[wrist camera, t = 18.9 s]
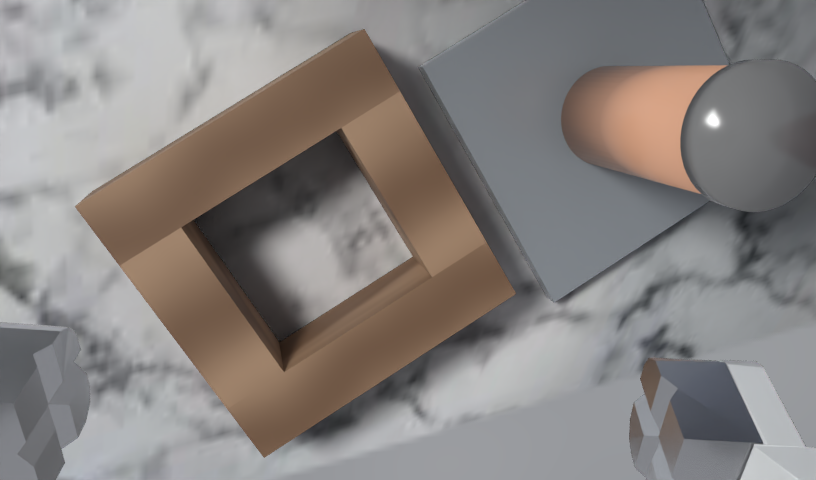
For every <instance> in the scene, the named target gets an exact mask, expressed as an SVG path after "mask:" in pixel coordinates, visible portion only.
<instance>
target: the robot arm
mask: <svg viewBox="0 0 816 480" xmlns="http://www.w3.org/2000/svg"><path fill="white" fill-rule="evenodd" d="M80 351H81V347H80V344H79V341H78V337H77V334H76V331H74V330H72V329H71V328H69V327H58V326H45V325H32V324H18V323H5V322H0V480H56V478H57V476H58V475H59V473H60V471H61V469H62V467H63V465H64V463H65V461H64V457H63V454H62V450H61V449H62V448H64V447H65V446H67V445H68V444H70V443H71V442H73V441H74V440H76V439H77V438H78V437H79V435H80V433H81V431H82V429H83V427H84V425H85V423H86V419H87V414H88V410H89V405H90V385H89V380H88V376H87V373H86V372H85V371H84V370H83V369H82V368H81V367H79V366H78V365H77V364H76V363H75V362H74V361H75V359H76V357H77V356H78V354H79V352H80ZM640 380H641V383H642V386H643V389H644V392H645V394H644V395H642V396H641V397H640V398H639V399H637V400H636V401H635V402H634V404H633V409H632V413H631V418H630V433H629V440H630V448H631V454H632V458H633V462H634V466H635V468H636V469H637V470H638V471H639V472H640V473H641V474H643V475H644V476H645V477H646V480H816V448H813V447H806V445H805V444H804V442H803V440H802V438H801V436H800V434H799V432H798V431H797V429H796V427H795V425H794V423H793V421H792V419H791V418H790V416H789V414H788V412H787V410H786V408H785V406H784V405H783V403H782V401H781V399H780V397H779V395H778V394H777V392H776V390H775V388H774V386H773V384H772V382H771V381H770V379H769V377H768V375H767V373H766V371H765V370H764V368H763V366H762V365H761V364H759V363H758V362H757V361H734V360H720V361H712V360H690V359H668V358H648V360H647V361H646V363H645V365H644V367H643V371H642V374H641V378H640Z"/></svg>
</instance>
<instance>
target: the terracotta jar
mask: <svg viewBox="0 0 816 480" xmlns="http://www.w3.org/2000/svg"><path fill="white" fill-rule="evenodd" d="M561 126H562V132H563V135H564V138H565V141H566V143H567V145H568V146H569V148H570V149H571V150H572V152H573V153H574V154H575V155H576V156H577V157H579V158H580V159H581V160H583V161H585V162H587V163H589V164H592V165H596V166H599V167H603V168H607V169H610V170H614V171H618V172H622V173H625V174H629V175H633V176H636V177H640V178H644V179H647V180H651V181H655V182H658V183H662V184H666V185H670V186H673V187H677V188H681V189H684V190H688V191H692V192H695V193H699V194H702V195H703V196H705V197H706V198H707V199H709V200H711V201H713V202H715V203H717V204H720V205H723V206H726V207H730V208H733V209H737V210H740V211H746V212H763V211H768V210H772V209H775V208H778V207H780V206H782V205H784V204H786V203H788V202H789V201H791V200H792V199H794V198H795V197H796V196H798V195H799V194H800V193H801V192H802V191H803V190H804V189H805V188H806V187H807V186H808V185H809V184H810V182H811V181H812V180H813V178H814V177H815V175H816V80H815V79H814V78H813V77H812V76H811V75H810V74H809V73H808V72H807V71H805V70H804V69H802V68H801V67H799V66H798V65H795V64H793V63H790V62H787V61H783V60H774V59H762V60H744V61H740V62H736V63H733V64H730V65H676V66H602V67H598V68H595V69H593V70H591V71H589V72H587V73H585V74H584V75H583V76H581V77H580V78H579V79H578V80H577V81H576V82H575V83H574V84H573V86H572V87H571V89H570V90H569V92H568V94H567V96H566V98H565V101H564V104H563V108H562V114H561Z"/></svg>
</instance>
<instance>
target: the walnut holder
mask: <svg viewBox="0 0 816 480" xmlns="http://www.w3.org/2000/svg"><path fill="white" fill-rule="evenodd" d="M335 131H337V133H338V135H339V136H340V138H341V140H342V141H343V143H344V144H345V146H346V148H347V149H348V151H349V153H350V154H351V156H352V158H353V159H354V161H355V162H356V164H357V166H358V167H359V169H360V171H361V172H362V174H363V175H364V177H365V179H366V180H367V182H368V184H369V185H370V187H371V189H372V190H373V192H374V193H375V195H376V197H377V198H378V200H379V202H380V203H381V205H382V207H383V208H384V210H385V211H386V213H387V215H388V216H389V218H390V220H391V221H392V223H393V225H394V226H395V228H396V229H397V231H398V233H399V234H400V236H401V238H402V239H403V241H404V243H405V244H406V246H407V247H408V249H409V251H410V252H411V254H412V256H413V257H412V258H410V259H409V260H407V261H406V262H404V263H403V264H401V265H399V266H398V267H396V268H395V269H393V270H392V271H390V272H389V273H387V274H385V275H384V276H382V277H381V278H379V279H378V280H376V281H374V282H373V283H371V284H370V285H368V286H367V287H365V288H364V289H362V290H360V291H359V292H357V293H356V294H354V295H353V296H351V297H349V298H348V299H346V300H345V301H343V302H342V303H340V304H339V305H337V306H335V307H334V308H332V309H331V310H329V311H328V312H326V313H324V314H323V315H321V316H320V317H318V318H317V319H315V320H314V321H312V322H310V323H309V324H307V325H306V326H304V327H303V328H301V329H299V330H298V331H296V332H295V333H293V334H292V335H290V336H288V337H287V338H285V339H284V340H282V341H281V342H279V341H278V340H277V338H276V337H275V335H274V334H273V333H272V331H271V330H270V328H269V327H268V326H267V324H266V323H265V321H264V320H263V318H262V317H261V316H260V314H259V313H258V311H257V310H256V308H255V307H254V306H253V304H252V303H251V301H250V300H249V299H248V297H247V296H246V294H245V293H244V291H243V290H242V289H241V287H240V286H239V284H238V283H237V281H236V280H235V279H234V277H233V276H232V274H231V273H230V271H229V270H228V269H227V267H226V266H225V264H224V263H223V262H222V260H221V259H220V257H219V256H218V254H217V253H216V252H215V250H214V249H213V247H212V246H211V244H210V243H209V242H208V240H207V239H206V237H205V236H204V234H203V233H202V232H201V230H200V229H199V227H198V226H197V225H196V223H195V222H194V219H195V218H197V217H199V216H200V215H202V214H204V213H205V212H207V211H208V210H210V209H212V208H213V207H215V206H216V205H218V204H220V203H221V202H223V201H224V200H226V199H228V198H229V197H231V196H232V195H234V194H236V193H237V192H239V191H240V190H242V189H244V188H245V187H247V186H249V185H250V184H252V183H253V182H255V181H257V180H258V179H260V178H261V177H263V176H265V175H266V174H268V173H269V172H271V171H273V170H274V169H276V168H277V167H279V166H281V165H282V164H284V163H286V162H287V161H289V160H290V159H292V158H294V157H295V156H297V155H298V154H300V153H302V152H303V151H305V150H306V149H308V148H310V147H311V146H313V145H314V144H316V143H318V142H319V141H321V140H322V139H324V138H326V137H327V136H329V135H331V134H332V133H334V132H335ZM75 207H76V209H77V210H78V211H79V213H80V214H81V215H82V217H83V218H84V219H85V221H86V222H87V223H88V225H89V226H90V227H91V229H92V230H93V231H94V233H95V234H96V235H97V237H98V238H99V239H100V241H101V242H102V243H103V245H104V246H105V247H106V249H107V250H108V251H109V253H110V254H111V255H112V257H113V258H114V259H115V260H116V262H117V263H118V264H119V266H120V267H121V268H122V270H123V271H124V272H125V274H126V275H127V276H128V278H129V279H130V280H131V282H132V283H133V284H134V286H135V287H136V288H137V290H138V291H139V292H140V294H141V295H142V296H143V298H144V299H145V300H146V302H147V303H148V304H149V306H150V307H151V308H152V310H153V311H154V312H155V314H156V315H157V316H158V318H159V319H160V320H161V322H162V323H163V324H164V326H165V327H166V328H167V330H168V331H169V332H170V334H171V335H172V336H173V338H174V339H175V340H176V341H177V343H178V344H179V345H180V347H181V348H182V349H183V351H184V352H185V353H186V355H187V356H188V357H189V359H190V360H191V361H192V363H193V364H194V365H195V367H196V368H197V369H198V371H199V372H200V373H201V375H202V376H203V377H204V379H205V380H206V381H207V383H208V384H209V385H210V387H211V388H212V389H213V391H214V392H215V393H216V395H217V396H218V397H219V399H220V400H221V401H222V403H223V404H224V405H225V407H226V408H227V409H228V411H229V412H230V413H231V415H232V416H233V417H234V419H235V420H236V421H237V423H238V424H239V425H240V426H241V428H242V429H243V430H244V432H245V433H246V434H247V436H248V437H249V438H250V440H251V441H252V442H253V444H254V445H255V446H256V448H257V449H258V450H259V452H260V453H261V454H262V456H263V457H266V456H268V455H269V454H271V453H272V452H274V451H275V450H277V449H278V448H280V447H281V446H283V445H284V444H286V443H288V442H289V441H291V440H292V439H294V438H295V437H297V436H298V435H300V434H301V433H303V432H304V431H306V430H307V429H309V428H311V427H312V426H314V425H315V424H317V423H318V422H320V421H321V420H323V419H324V418H326V417H327V416H329V415H331V414H332V413H334V412H335V411H337V410H338V409H340V408H341V407H343V406H344V405H346V404H347V403H349V402H351V401H352V400H354V399H355V398H357V397H358V396H360V395H361V394H363V393H364V392H366V391H367V390H369V389H371V388H372V387H374V386H375V385H377V384H378V383H380V382H381V381H383V380H384V379H386V378H387V377H389V376H391V375H392V374H394V373H395V372H397V371H398V370H400V369H401V368H403V367H404V366H406V365H407V364H409V363H411V362H412V361H414V360H415V359H417V358H418V357H420V356H421V355H423V354H424V353H426V352H427V351H429V350H431V349H432V348H434V347H435V346H437V345H438V344H440V343H441V342H443V341H444V340H446V339H447V338H449V337H451V336H452V335H454V334H455V333H457V332H458V331H460V330H461V329H463V328H464V327H466V326H467V325H469V324H471V323H472V322H474V321H475V320H477V319H478V318H480V317H481V316H483V315H484V314H486V313H487V312H489V311H490V310H492V309H494V308H495V307H497V306H498V305H500V304H501V303H503V302H504V301H506V300H507V299H509V298H510V297H512V296H514V295H515V294H516V293H515V291H514V289H513V287H512V286H511V284H510V282H509V280H508V279H507V277H506V275H505V273H504V272H503V270H502V268H501V266H500V265H499V263H498V261H497V259H496V258H495V256H494V254H493V252H492V251H491V249H490V247H489V246H488V244H487V242H486V240H485V239H484V237H483V235H482V233H481V232H480V230H479V228H478V226H477V225H476V223H475V221H474V219H473V218H472V216H471V214H470V212H469V211H468V209H467V207H466V205H465V204H464V202H463V200H462V198H461V197H460V195H459V193H458V191H457V190H456V188H455V186H454V184H453V183H452V181H451V179H450V177H449V176H448V174H447V172H446V170H445V169H444V167H443V165H442V164H441V162H440V160H439V158H438V157H437V155H436V153H435V151H434V150H433V148H432V146H431V144H430V143H429V141H428V139H427V137H426V136H425V134H424V132H423V130H422V129H421V127H420V125H419V123H418V122H417V120H416V118H415V116H414V115H413V113H412V111H411V109H410V108H409V106H408V104H407V102H406V101H405V99H404V97H403V95H402V94H401V92H400V90H399V88H398V87H397V85H396V83H395V81H394V80H393V78H392V76H391V75H390V73H389V71H388V69H387V68H386V66H385V64H384V62H383V61H382V59H381V57H380V55H379V54H378V52H377V50H376V48H375V47H374V45H373V43H372V41H371V40H370V38H369V36H368V34H367V33H366V31H365V29H363V30H359V31H356V32H352V33H350V34H348V35H347V36H345V37H343V38H342V39H340V40H339V41H337V42H335V43H334V44H332V45H330V46H329V47H327V48H325V49H324V50H322V51H321V52H319V53H317V54H316V55H314V56H312V57H311V58H309V59H308V60H306V61H304V62H303V63H301V64H299V65H298V66H296V67H294V68H293V69H291V70H290V71H288V72H286V73H285V74H283V75H281V76H280V77H278V78H277V79H275V80H273V81H272V82H270V83H268V84H267V85H265V86H264V87H262V88H260V89H259V90H257V91H255V92H254V93H252V94H250V95H249V96H247V97H246V98H244V99H242V100H241V101H239V102H237V103H236V104H234V105H233V106H231V107H229V108H228V109H226V110H224V111H223V112H221V113H219V114H218V115H216V116H215V117H213V118H211V119H210V120H208V121H206V122H205V123H203V124H202V125H200V126H198V127H197V128H195V129H193V130H192V131H190V132H188V133H187V134H185V135H184V136H182V137H180V138H179V139H177V140H175V141H174V142H172V143H171V144H169V145H167V146H166V147H164V148H162V149H161V150H159V151H157V152H156V153H154V154H153V155H151V156H149V157H148V158H146V159H144V160H143V161H141V162H140V163H138V164H136V165H135V166H133V167H131V168H130V169H128V170H126V171H125V172H123V173H122V174H120V175H118V176H117V177H115V178H113V179H112V180H110V181H109V182H107V183H105V184H104V185H102V186H100V187H99V188H97V189H95V190H94V191H92V192H91V193H90V194H89V195H88V196H86V197H85V198H84V199H83V200H82V201H81V202H80V203H78V204H77V205H76V206H75Z"/></svg>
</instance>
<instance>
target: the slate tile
mask: <svg viewBox="0 0 816 480" xmlns="http://www.w3.org/2000/svg"><path fill="white" fill-rule="evenodd" d="M676 65H730V64H729V62H728V59H727V57H726V55H725V52H724V50H723V48H722V45H721V43H720V41H719V38H718V36H717V34H716V31H715V29H714V26H713V24H712V22H711V19H710V17H709V15H708V12H707V10H706V8H705V5H704V3H703V1H702V0H525V1H524V2H522V3H521V4H519V5H517V6H516V7H514V8H512V9H511V10H509V11H508V12H506V13H504V14H503V15H501V16H500V17H498V18H496V19H495V20H493V21H492V22H490V23H488V24H487V25H485V26H483V27H482V28H480V29H479V30H477V31H475V32H474V33H472V34H471V35H469V36H467V37H466V38H464V39H463V40H461V41H459V42H458V43H456V44H454V45H453V46H451V47H450V48H448V49H446V50H445V51H443V52H442V53H440V54H438V55H437V56H435V57H434V58H432V59H430V60H429V61H427V62H425V63H424V64H422V65H421V66H419V67H418V68H419V69H420V71H421V73H422V75H423V76H424V78H425V80H426V82H427V84H428V85H429V87H430V89H431V91H432V93H433V94H434V96H435V98H436V100H437V102H438V103H439V105H440V107H441V109H442V110H443V112H444V114H445V116H446V118H447V119H448V121H449V123H450V125H451V127H452V128H453V130H454V132H455V134H456V135H457V137H458V139H459V141H460V143H461V144H462V146H463V148H464V150H465V152H466V153H467V155H468V157H469V159H470V161H471V162H472V164H473V166H474V168H475V169H476V171H477V173H478V175H479V177H480V178H481V180H482V182H483V184H484V186H485V187H486V189H487V191H488V193H489V194H490V196H491V198H492V200H493V202H494V203H495V205H496V207H497V209H498V211H499V212H500V214H501V216H502V218H503V220H504V221H505V223H506V225H507V227H508V228H509V230H510V232H511V234H512V236H513V237H514V239H515V241H516V243H517V245H518V246H519V248H520V250H521V252H522V253H523V255H524V257H525V259H526V261H527V262H528V264H529V266H530V268H531V270H532V271H533V273H534V275H535V277H536V279H537V280H538V282H539V284H540V286H541V287H542V289H543V291H544V293H545V295H546V296H547V298H549V299H550V300H551V301H553V302H556V301H557V300H559V299H561V298H562V297H564V296H565V295H567V294H568V293H570V292H571V291H573V290H574V289H576V288H577V287H579V286H580V285H582V284H583V283H585V282H587V281H588V280H590V279H591V278H593V277H594V276H596V275H597V274H599V273H600V272H602V271H603V270H605V269H606V268H608V267H609V266H611V265H613V264H614V263H616V262H617V261H619V260H620V259H622V258H623V257H625V256H626V255H628V254H629V253H631V252H632V251H634V250H635V249H637V248H639V247H640V246H642V245H643V244H645V243H646V242H648V241H649V240H651V239H652V238H654V237H655V236H657V235H658V234H660V233H661V232H663V231H665V230H666V229H668V228H669V227H671V226H672V225H674V224H675V223H677V222H678V221H680V220H681V219H683V218H684V217H686V216H687V215H689V214H691V213H692V212H694V211H695V210H697V209H698V208H700V207H701V206H703V205H704V204H706V203H707V202H709V201H710V200H709V199H707V198H706V197H705V196H703V195H702V194H699V193H695V192H692V191H688V190H684V189H681V188H677V187H673V186H670V185H666V184H662V183H658V182H655V181H651V180H647V179H644V178H640V177H636V176H633V175H629V174H625V173H622V172H618V171H614V170H610V169H607V168H603V167H599V166H596V165H592V164H589V163H587V162H585V161H583V160H581V159H580V158H579V157H577V156H576V155H575V154H574V153H573V152H572V150H571V149H570V148H569V146H568V145H567V143H566V141H565V138H564V135H563V132H562V126H561V114H562V108H563V104H564V101H565V98H566V96H567V94H568V92H569V90H570V89H571V87H572V86H573V84H574V83H575V82H576V81H577V80H578V79H579V78H580V77H581V76H583V75H584V74H585V73H587V72H589V71H591V70H593V69H595V68H598V67H602V66H676Z"/></svg>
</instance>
